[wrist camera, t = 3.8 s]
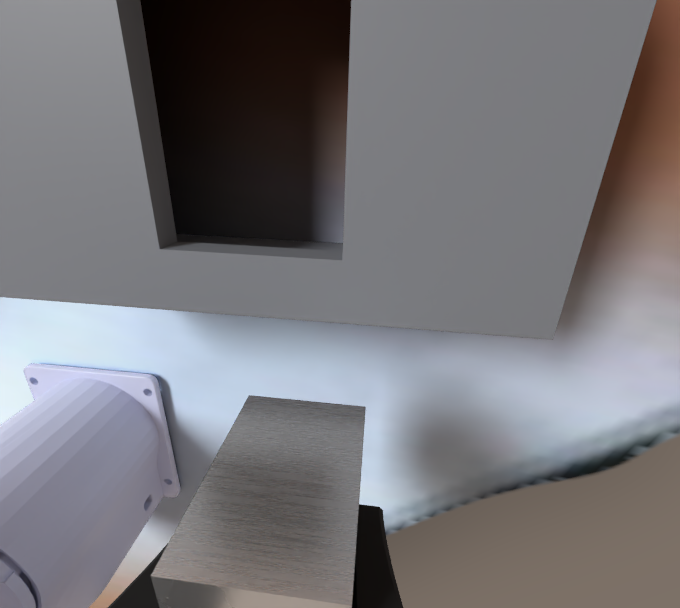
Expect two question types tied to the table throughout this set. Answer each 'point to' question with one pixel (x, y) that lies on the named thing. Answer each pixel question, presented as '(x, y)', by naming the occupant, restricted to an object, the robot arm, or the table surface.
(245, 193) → the table surface
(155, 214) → the grey tissue box
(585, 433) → the table surface
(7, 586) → the robot arm
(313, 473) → the cream block
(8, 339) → the table surface
